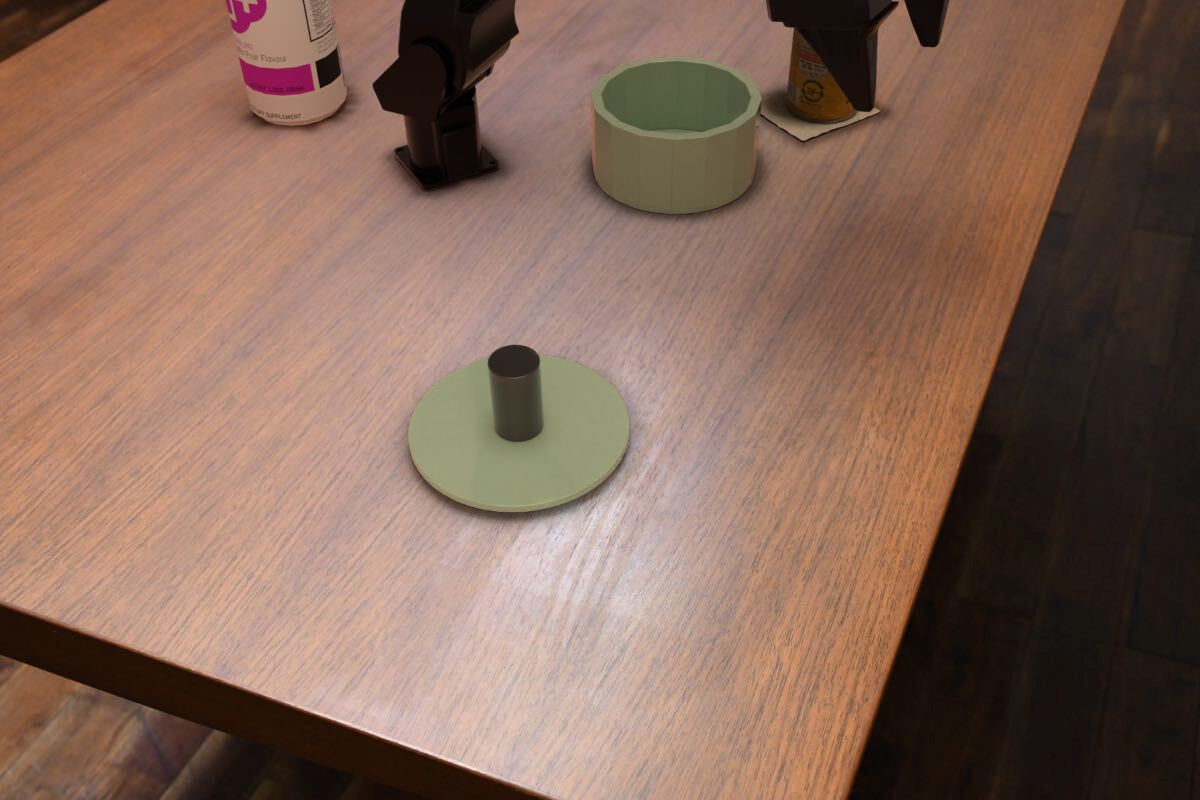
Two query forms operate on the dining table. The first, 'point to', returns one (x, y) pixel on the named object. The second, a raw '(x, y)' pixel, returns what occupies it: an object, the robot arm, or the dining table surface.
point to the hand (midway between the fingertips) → (898, 77)
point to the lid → (518, 431)
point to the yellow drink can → (809, 97)
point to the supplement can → (289, 58)
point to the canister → (675, 134)
